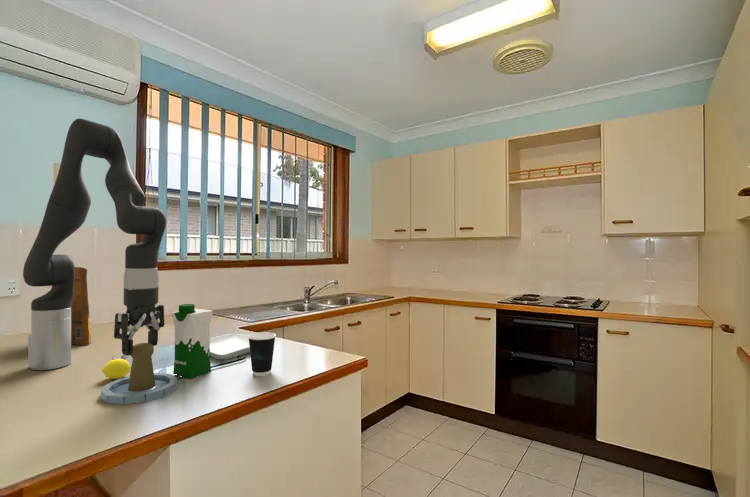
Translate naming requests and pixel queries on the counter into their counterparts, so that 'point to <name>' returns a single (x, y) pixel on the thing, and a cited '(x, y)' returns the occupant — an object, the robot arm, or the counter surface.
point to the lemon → (116, 369)
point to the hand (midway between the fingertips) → (140, 350)
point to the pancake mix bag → (80, 310)
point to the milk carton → (192, 341)
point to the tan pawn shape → (142, 368)
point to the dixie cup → (261, 352)
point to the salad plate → (229, 346)
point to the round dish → (121, 395)
